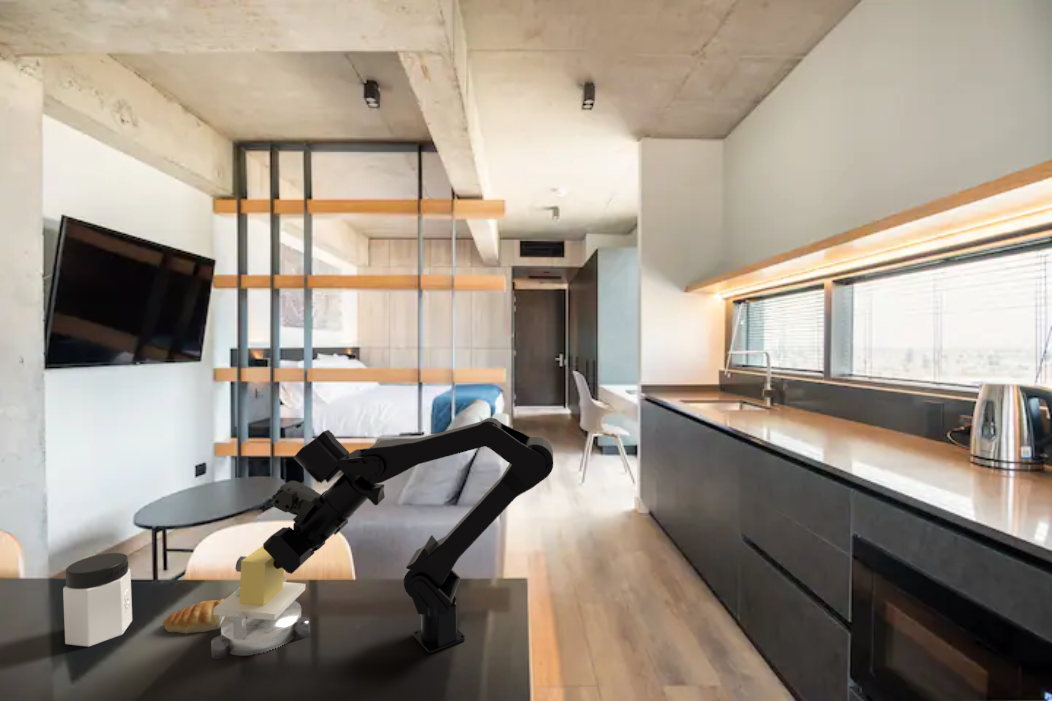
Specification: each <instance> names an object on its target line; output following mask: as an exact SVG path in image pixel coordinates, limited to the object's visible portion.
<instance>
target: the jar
mask: <svg viewBox="0 0 1052 701" xmlns="http://www.w3.org/2000/svg"><path fill="white" fill-rule="evenodd" d="M128 560H129V558H128V555H127V554H125V553H122V552H109V553H108V552H107V553H102V554H97V555H96V554H95V555H92V556H89V557H85V558H82V559H80V560H77V561H74V562H73V563H71V564H70V565H68V566H67V568H66V569H65V583H66V584H65V586H63V589H62V591H63V592H62V595H63V596H62V597H63V600H62V601H63V618H64V619H63V620H64V622H63V623H64V644H65V645H70V646H71V645H72V646H78V647H92V646H95V645H97V644H101V643H103V642H106V641H109V640H112V639H114V638H116V637H120V636H122V635H123V634H124V633H125V632H126V630H127V628H129V626H130V625H131V623H132V622H133V606H132V605H133V604H132V602H133V601H132V600H133V599H132V581H131V580H132V576H131V568H129V561H128Z"/></svg>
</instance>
